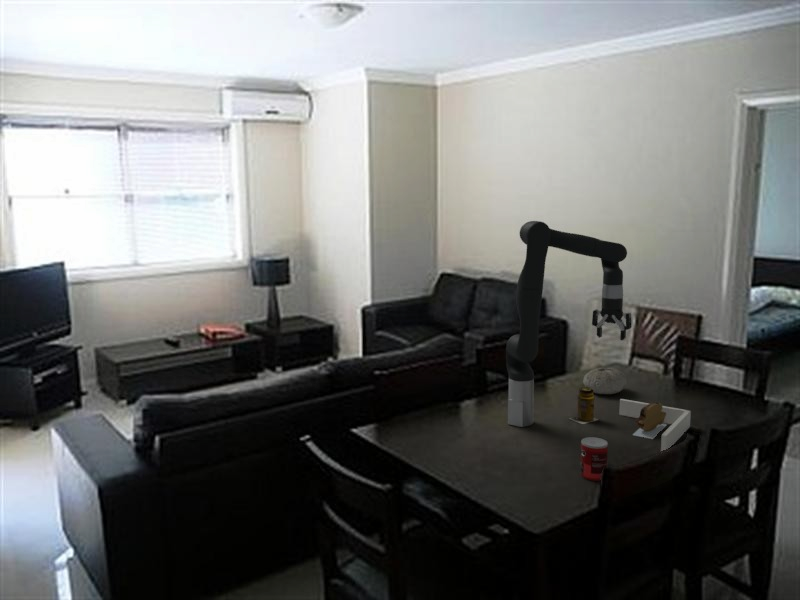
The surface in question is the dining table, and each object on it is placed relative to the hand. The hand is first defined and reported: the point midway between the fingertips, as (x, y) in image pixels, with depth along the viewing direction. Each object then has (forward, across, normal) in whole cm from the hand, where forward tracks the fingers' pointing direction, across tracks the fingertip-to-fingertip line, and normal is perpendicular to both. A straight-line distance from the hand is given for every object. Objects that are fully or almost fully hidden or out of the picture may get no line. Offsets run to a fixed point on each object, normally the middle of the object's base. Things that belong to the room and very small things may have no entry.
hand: (611, 338), depth 260 cm
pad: (+30, +18, -8) cm, 36 cm away
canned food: (+30, +16, -56) cm, 66 cm away
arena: (+30, +16, -11) cm, 36 cm away
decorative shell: (+30, -12, +28) cm, 43 cm away
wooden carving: (+30, +18, -8) cm, 36 cm away
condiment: (+30, -6, -10) cm, 33 cm away
